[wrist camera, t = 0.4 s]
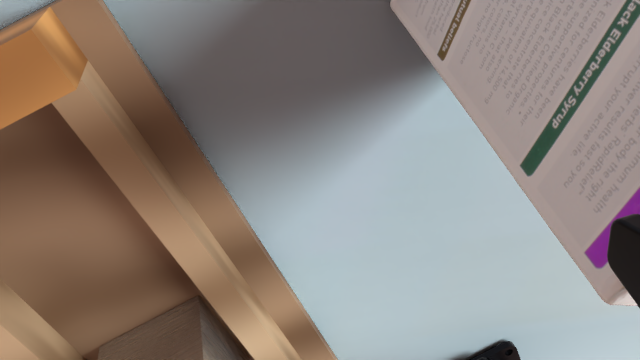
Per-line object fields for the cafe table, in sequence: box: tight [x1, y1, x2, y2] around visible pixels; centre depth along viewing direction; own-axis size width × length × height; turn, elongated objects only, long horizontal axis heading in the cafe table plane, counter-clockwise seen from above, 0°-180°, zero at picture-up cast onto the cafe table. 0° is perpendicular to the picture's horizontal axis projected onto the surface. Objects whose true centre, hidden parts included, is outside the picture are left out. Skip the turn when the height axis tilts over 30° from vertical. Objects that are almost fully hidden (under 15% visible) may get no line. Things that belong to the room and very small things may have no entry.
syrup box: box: [390, 0, 640, 306], centre depth 15 cm, size 6×6×14 cm
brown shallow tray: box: [0, 0, 338, 360], centre depth 23 cm, size 23×12×4 cm, turn 24°
